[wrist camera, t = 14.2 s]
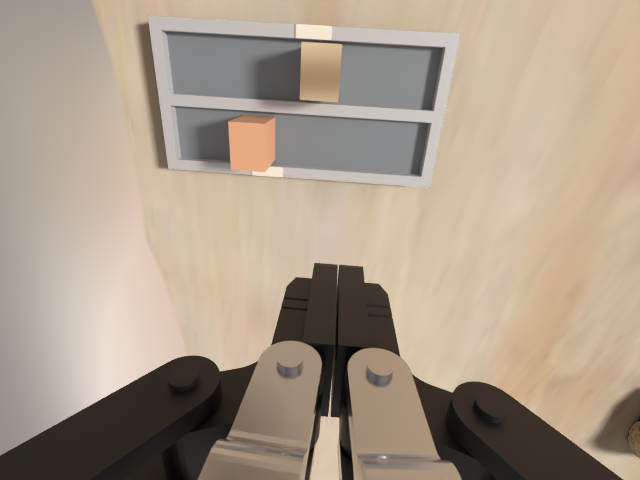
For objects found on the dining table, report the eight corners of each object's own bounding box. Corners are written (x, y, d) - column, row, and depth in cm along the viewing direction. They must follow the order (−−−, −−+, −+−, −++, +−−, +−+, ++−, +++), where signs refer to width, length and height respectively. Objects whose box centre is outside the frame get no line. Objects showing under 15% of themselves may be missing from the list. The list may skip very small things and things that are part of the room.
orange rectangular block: (243, 114, 33) (228, 121, 28) (275, 116, 33) (264, 123, 28) (245, 157, 35) (230, 169, 30) (275, 159, 35) (265, 172, 30)
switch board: (160, 19, 31) (146, 15, 29) (453, 36, 30) (461, 33, 28) (177, 163, 37) (167, 169, 35) (425, 181, 36) (430, 188, 34)
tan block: (307, 46, 30) (301, 41, 26) (342, 48, 30) (342, 44, 26) (305, 96, 32) (299, 99, 27) (338, 98, 32) (337, 102, 27)
